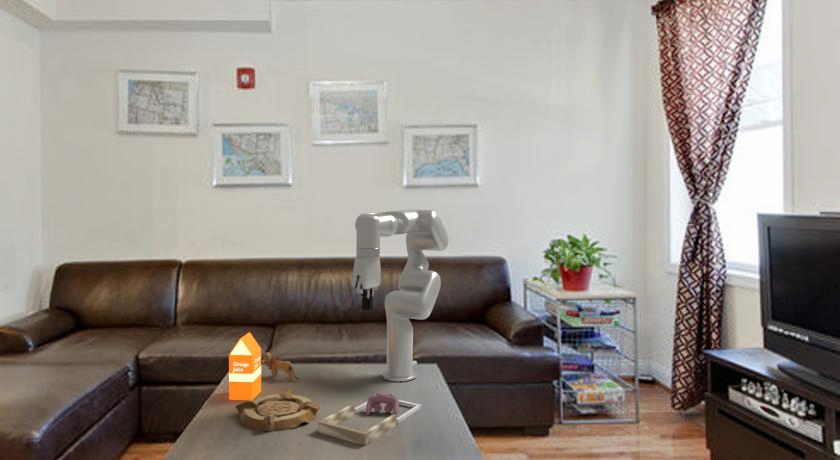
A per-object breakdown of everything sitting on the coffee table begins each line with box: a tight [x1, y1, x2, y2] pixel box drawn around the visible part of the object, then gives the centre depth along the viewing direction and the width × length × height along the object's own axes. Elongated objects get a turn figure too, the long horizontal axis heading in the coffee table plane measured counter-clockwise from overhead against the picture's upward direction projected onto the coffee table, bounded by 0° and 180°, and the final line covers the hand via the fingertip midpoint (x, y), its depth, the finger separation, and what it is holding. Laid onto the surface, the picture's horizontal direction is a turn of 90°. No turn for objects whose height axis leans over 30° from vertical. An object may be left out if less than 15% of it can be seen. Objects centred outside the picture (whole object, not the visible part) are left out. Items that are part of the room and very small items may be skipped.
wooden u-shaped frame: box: [317, 403, 397, 447], centre depth 153 cm, size 15×16×3 cm
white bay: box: [354, 399, 422, 424], centre depth 167 cm, size 14×16×1 cm
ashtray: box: [235, 387, 321, 433], centre depth 162 cm, size 24×24×5 cm
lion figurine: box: [261, 351, 300, 383], centre depth 196 cm, size 15×5×9 cm, turn 73°
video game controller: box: [365, 392, 400, 417], centre depth 165 cm, size 10×5×7 cm, turn 84°
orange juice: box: [228, 331, 262, 401], centre depth 178 cm, size 8×9×20 cm
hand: (367, 309), depth 177 cm, fingers closed
